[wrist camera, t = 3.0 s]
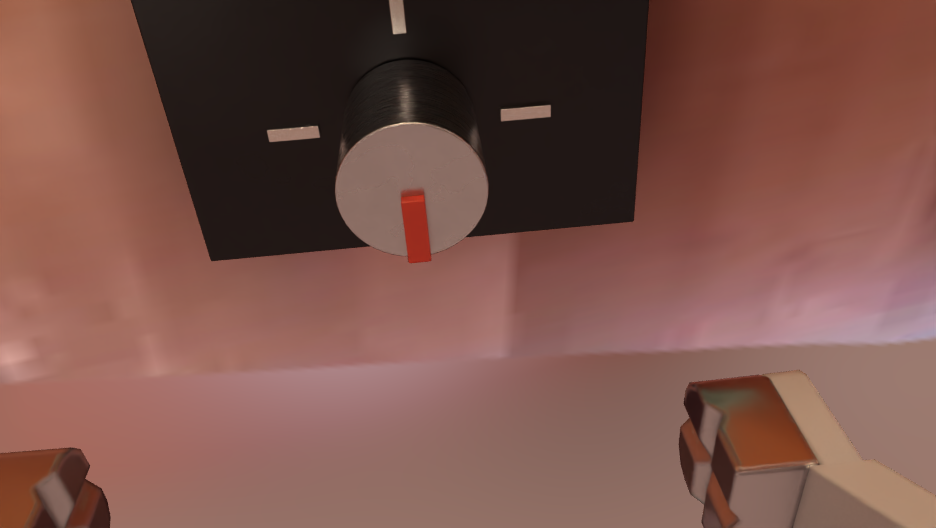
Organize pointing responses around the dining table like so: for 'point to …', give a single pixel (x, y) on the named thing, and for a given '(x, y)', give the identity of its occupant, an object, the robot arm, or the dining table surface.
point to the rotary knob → (410, 161)
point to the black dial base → (352, 57)
